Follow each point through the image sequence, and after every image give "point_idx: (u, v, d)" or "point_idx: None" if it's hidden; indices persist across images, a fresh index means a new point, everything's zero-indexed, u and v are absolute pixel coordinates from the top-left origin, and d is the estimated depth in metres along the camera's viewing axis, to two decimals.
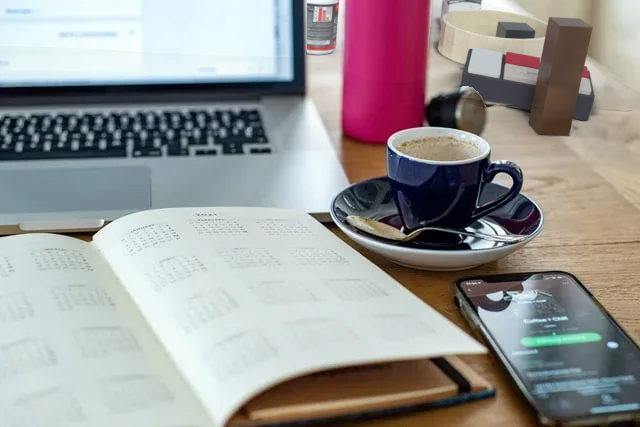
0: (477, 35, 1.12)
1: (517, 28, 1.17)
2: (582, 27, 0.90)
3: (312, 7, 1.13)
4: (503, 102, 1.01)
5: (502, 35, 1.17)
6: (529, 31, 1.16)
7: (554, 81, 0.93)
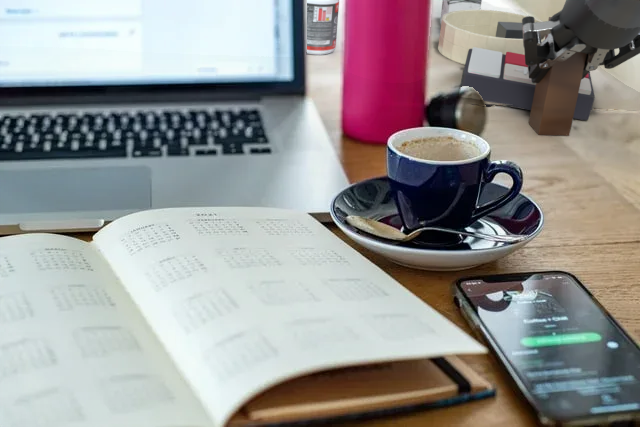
0: (477, 35, 1.12)
1: (517, 28, 1.17)
2: None
3: (312, 7, 1.13)
4: (503, 102, 1.01)
5: (502, 35, 1.17)
6: None
7: (554, 81, 0.93)
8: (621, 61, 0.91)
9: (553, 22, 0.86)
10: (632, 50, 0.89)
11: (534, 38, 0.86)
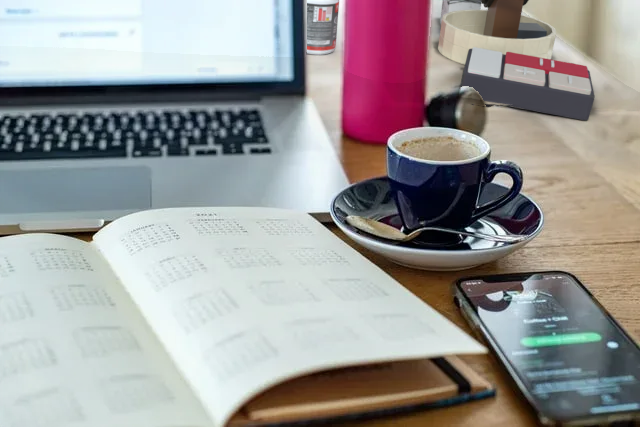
0: (477, 35, 1.12)
1: (528, 28, 1.17)
2: None
3: (312, 7, 1.13)
4: (503, 102, 1.01)
5: None
6: (540, 31, 1.17)
7: (501, 4, 1.14)
8: None
9: None
10: None
11: None
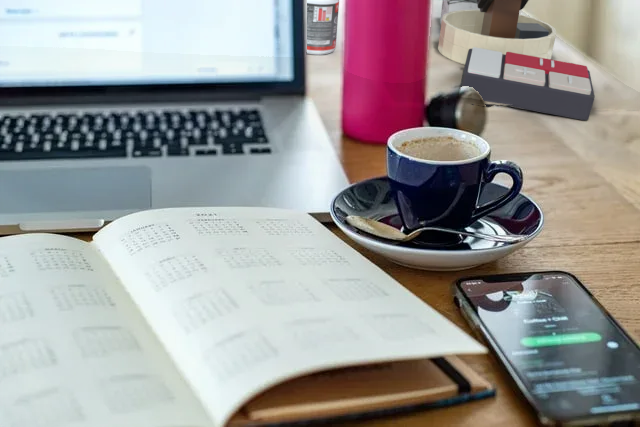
0: (477, 35, 1.12)
1: (530, 29, 1.17)
2: None
3: (312, 7, 1.13)
4: (503, 102, 1.01)
5: (516, 36, 1.17)
6: (543, 32, 1.17)
7: (497, 9, 1.12)
8: None
9: None
10: None
11: None
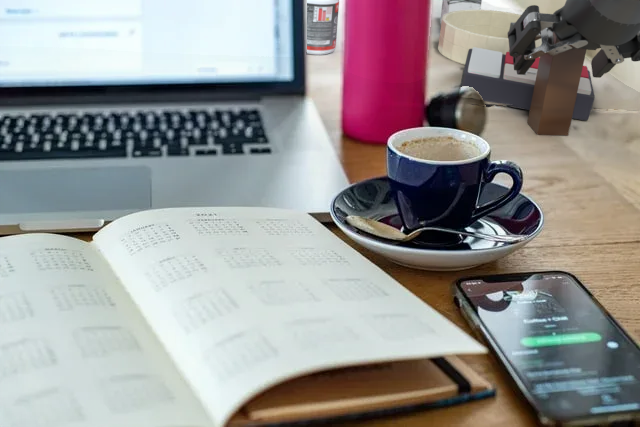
0: (477, 35, 1.12)
1: None
2: None
3: (312, 7, 1.13)
4: (503, 102, 1.01)
5: None
6: None
7: (553, 81, 0.93)
8: None
9: (558, 16, 0.85)
10: None
11: (540, 28, 0.85)
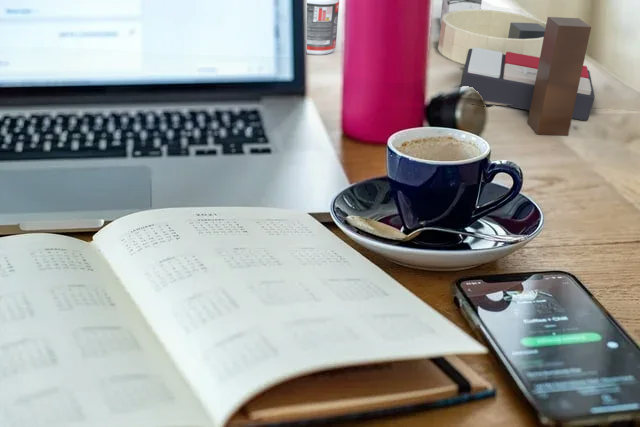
0: (477, 35, 1.12)
1: (530, 29, 1.17)
2: (581, 27, 0.90)
3: (312, 7, 1.13)
4: (503, 102, 1.01)
5: (516, 36, 1.17)
6: (543, 32, 1.17)
7: (553, 81, 0.93)
8: None
9: None
10: None
11: None
